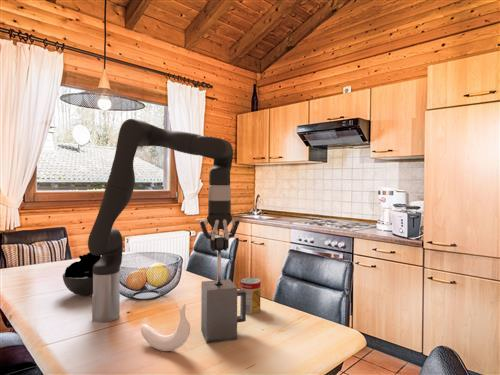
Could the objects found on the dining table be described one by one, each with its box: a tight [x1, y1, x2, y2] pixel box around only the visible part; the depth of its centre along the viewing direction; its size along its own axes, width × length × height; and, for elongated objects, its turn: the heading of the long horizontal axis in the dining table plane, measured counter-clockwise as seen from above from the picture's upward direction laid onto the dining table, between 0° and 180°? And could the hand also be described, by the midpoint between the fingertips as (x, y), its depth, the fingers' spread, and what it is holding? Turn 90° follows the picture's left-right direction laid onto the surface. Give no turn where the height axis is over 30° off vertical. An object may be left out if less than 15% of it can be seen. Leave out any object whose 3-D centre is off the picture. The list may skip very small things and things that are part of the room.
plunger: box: [214, 236, 224, 286], centre depth 117 cm, size 3×3×18 cm
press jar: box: [200, 279, 247, 344], centre depth 118 cm, size 14×10×17 cm
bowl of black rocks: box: [62, 251, 102, 297], centre depth 156 cm, size 20×20×19 cm
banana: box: [140, 303, 191, 352], centre depth 107 cm, size 5×19×15 cm, turn 67°
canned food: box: [240, 277, 261, 315], centre depth 140 cm, size 8×8×12 cm
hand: (219, 250), depth 117 cm, fingers closed on plunger, 3 cm apart
